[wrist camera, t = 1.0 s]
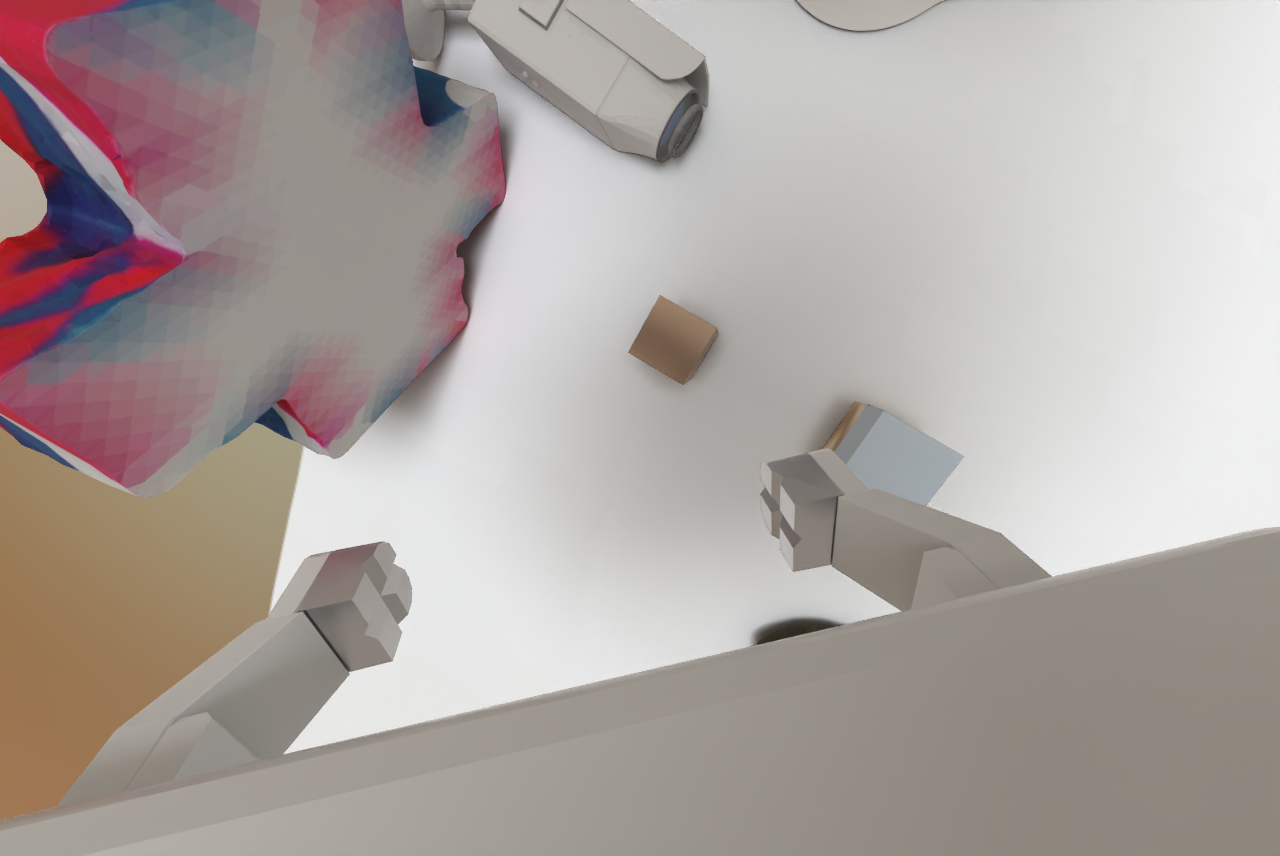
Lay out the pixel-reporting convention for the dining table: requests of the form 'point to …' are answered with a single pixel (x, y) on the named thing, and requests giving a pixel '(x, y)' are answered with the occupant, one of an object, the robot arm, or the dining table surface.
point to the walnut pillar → (673, 340)
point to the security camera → (586, 64)
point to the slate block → (896, 456)
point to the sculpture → (228, 225)
